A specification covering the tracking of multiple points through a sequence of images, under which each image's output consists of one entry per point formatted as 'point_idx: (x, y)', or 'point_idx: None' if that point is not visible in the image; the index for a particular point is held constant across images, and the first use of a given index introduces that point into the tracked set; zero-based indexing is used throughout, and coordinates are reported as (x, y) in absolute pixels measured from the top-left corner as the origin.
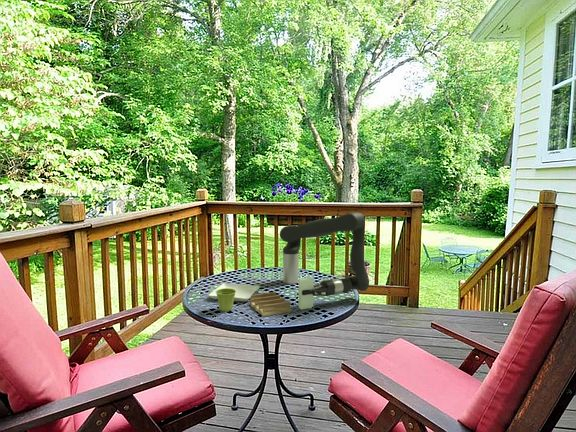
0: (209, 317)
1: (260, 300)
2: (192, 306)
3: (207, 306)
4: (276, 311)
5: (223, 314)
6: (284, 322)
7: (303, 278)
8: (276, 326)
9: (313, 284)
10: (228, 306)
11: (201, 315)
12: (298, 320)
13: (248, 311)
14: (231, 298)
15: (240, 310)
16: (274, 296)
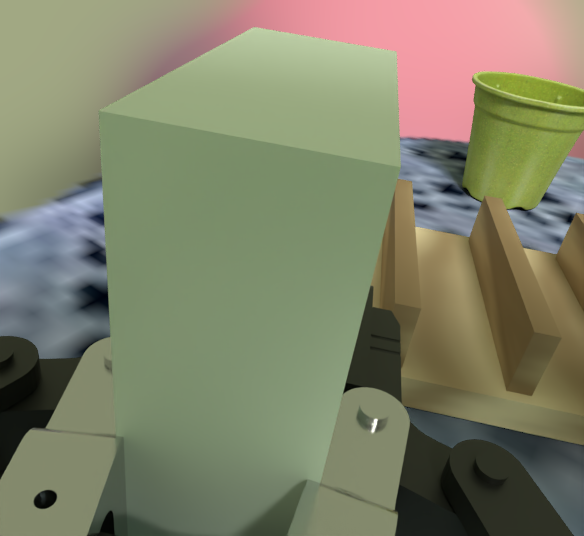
0: (414, 144)
1: (485, 231)
2: (578, 163)
3: (566, 181)
4: None
5: (427, 170)
6: (100, 234)
7: (371, 70)
8: (98, 193)
9: (115, 338)
10: (467, 159)
11: (450, 143)
12: (23, 295)
13: (420, 225)
14: (481, 118)
15: (455, 214)
16: (516, 287)
